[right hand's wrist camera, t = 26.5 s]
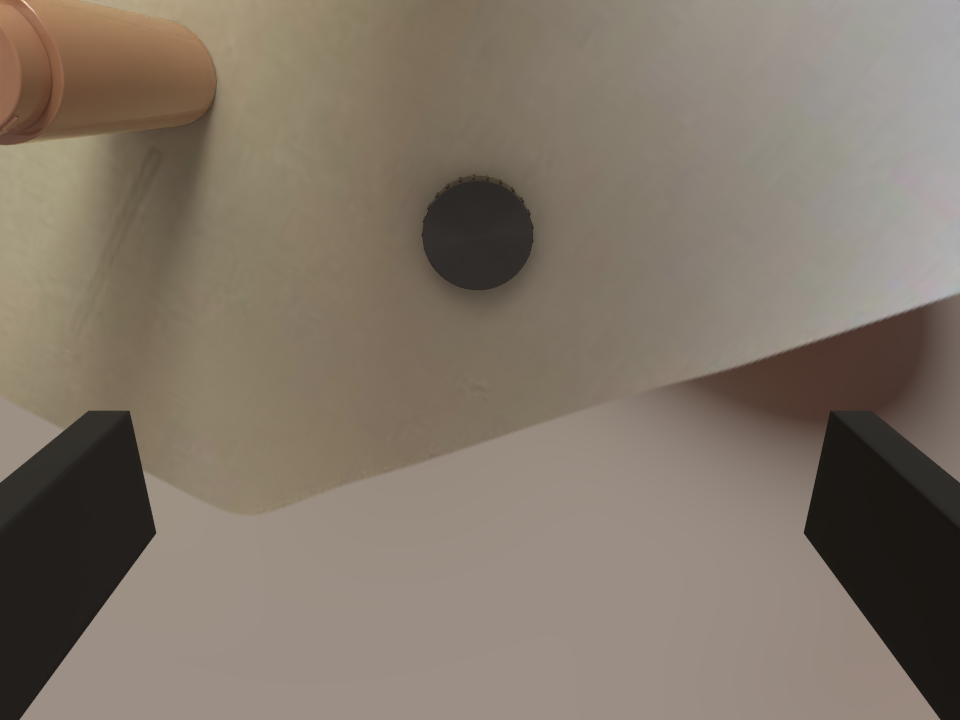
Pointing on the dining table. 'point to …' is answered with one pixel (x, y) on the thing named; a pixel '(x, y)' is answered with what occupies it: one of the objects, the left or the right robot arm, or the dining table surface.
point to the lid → (477, 233)
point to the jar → (96, 71)
